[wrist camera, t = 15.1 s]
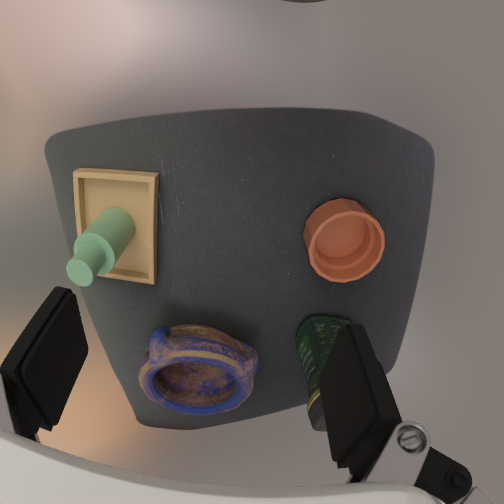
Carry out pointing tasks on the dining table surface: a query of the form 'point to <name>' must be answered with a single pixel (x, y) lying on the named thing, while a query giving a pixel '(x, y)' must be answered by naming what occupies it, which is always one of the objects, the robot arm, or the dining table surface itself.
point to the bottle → (100, 246)
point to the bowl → (197, 370)
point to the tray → (130, 200)
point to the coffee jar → (316, 359)
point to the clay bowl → (343, 240)
